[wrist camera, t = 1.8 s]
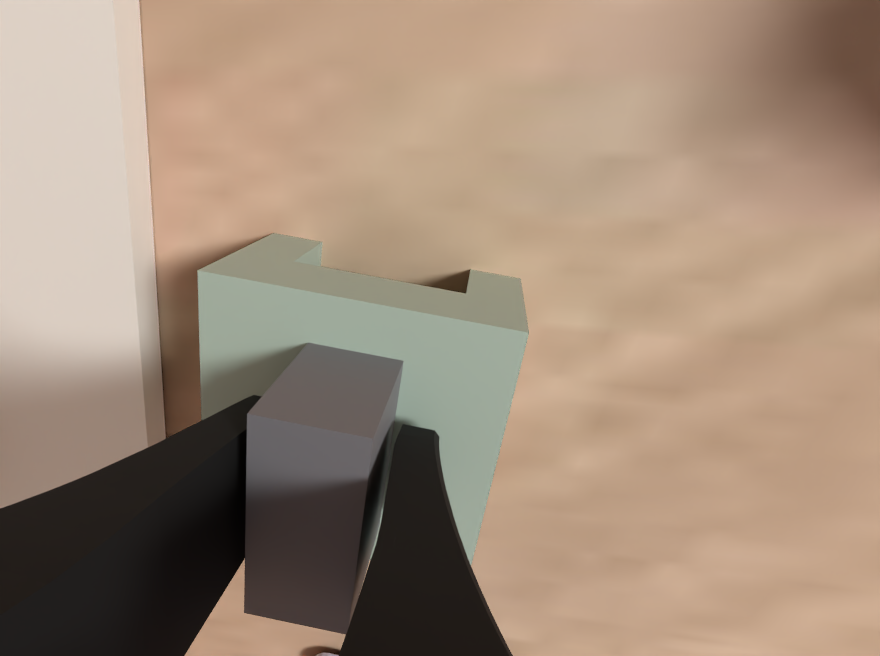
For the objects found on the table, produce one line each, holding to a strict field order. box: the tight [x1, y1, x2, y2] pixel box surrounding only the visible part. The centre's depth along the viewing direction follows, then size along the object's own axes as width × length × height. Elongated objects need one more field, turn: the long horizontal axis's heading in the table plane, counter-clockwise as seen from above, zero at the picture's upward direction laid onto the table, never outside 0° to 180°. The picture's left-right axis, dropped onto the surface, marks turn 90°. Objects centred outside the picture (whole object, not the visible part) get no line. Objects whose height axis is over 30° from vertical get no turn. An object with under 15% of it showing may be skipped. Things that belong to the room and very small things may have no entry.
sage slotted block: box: [197, 233, 529, 634], centre depth 11 cm, size 6×6×6 cm
